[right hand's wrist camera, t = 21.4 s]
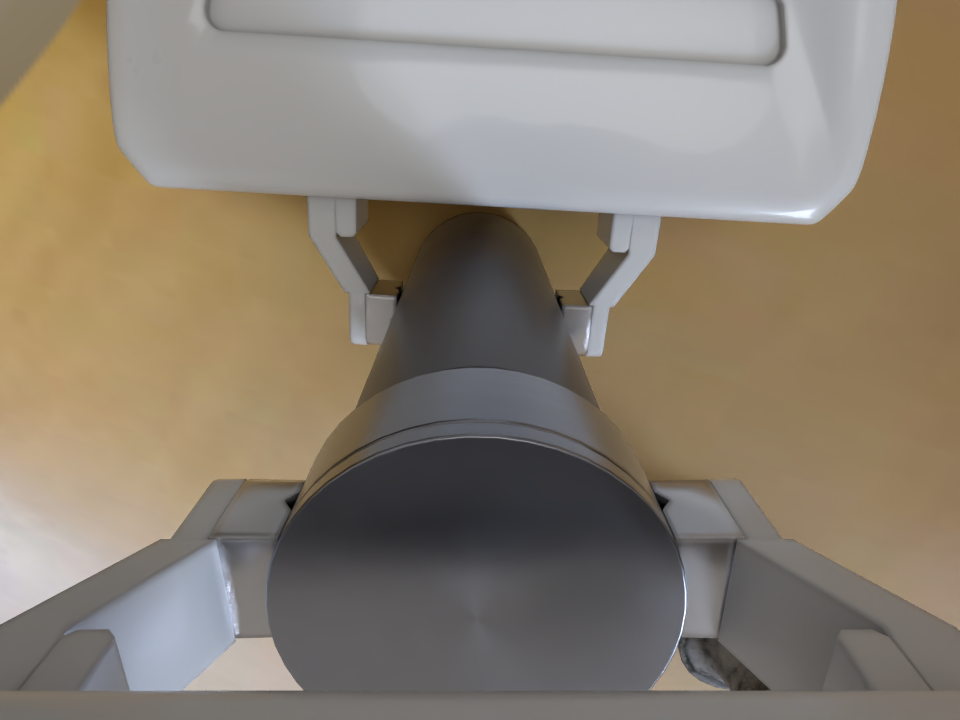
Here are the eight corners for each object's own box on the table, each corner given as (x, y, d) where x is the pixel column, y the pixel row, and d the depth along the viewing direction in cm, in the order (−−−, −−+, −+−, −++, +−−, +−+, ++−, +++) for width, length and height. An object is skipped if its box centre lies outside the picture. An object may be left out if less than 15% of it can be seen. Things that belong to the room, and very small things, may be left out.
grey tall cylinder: (444, 354, 26) (391, 730, 10) (393, 241, 24) (238, 492, 9) (559, 311, 25) (688, 647, 10) (516, 192, 24) (589, 369, 8)
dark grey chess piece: (637, 610, 31) (725, 890, 20) (691, 519, 29) (824, 774, 18) (741, 641, 32) (881, 927, 21) (801, 554, 30) (993, 820, 19)
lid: (718, 460, 10) (776, 547, 8) (540, 688, 12) (552, 803, 10) (392, 301, 9) (368, 357, 7) (255, 580, 11) (207, 684, 9)
